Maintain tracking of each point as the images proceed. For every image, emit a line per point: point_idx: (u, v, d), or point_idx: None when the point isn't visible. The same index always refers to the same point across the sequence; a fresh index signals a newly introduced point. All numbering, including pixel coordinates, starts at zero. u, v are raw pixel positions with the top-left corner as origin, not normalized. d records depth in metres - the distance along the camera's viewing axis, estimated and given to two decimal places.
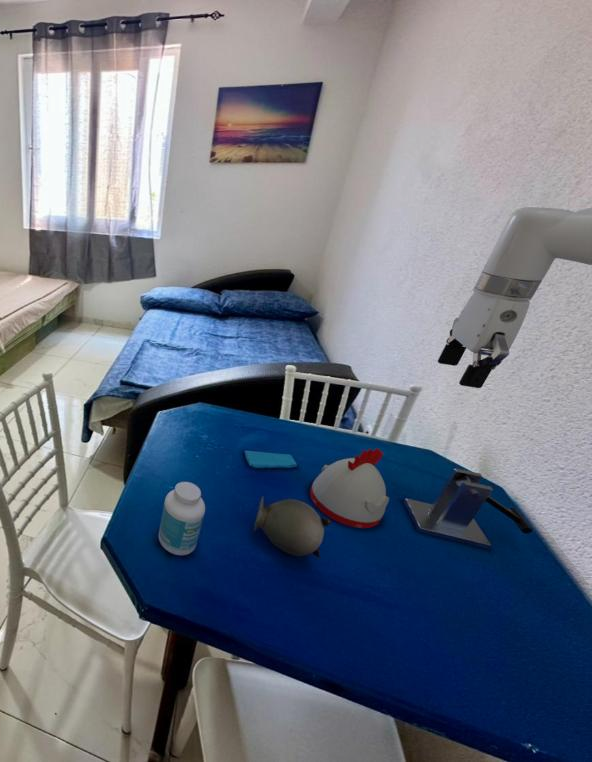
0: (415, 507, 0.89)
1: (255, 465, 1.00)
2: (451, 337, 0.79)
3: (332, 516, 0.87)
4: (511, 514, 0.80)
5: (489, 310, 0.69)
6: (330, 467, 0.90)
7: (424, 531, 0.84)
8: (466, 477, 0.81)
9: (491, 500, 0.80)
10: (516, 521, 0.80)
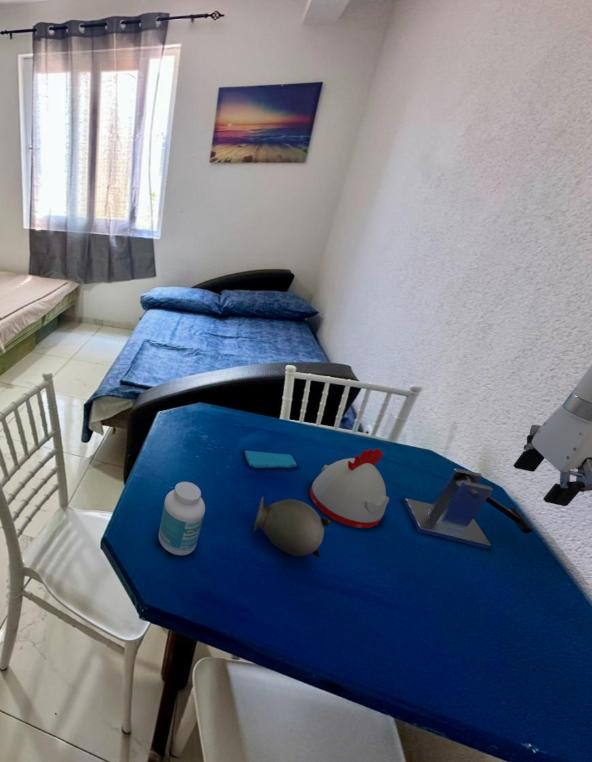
0: (415, 507, 0.89)
1: (255, 465, 1.00)
2: (530, 445, 0.79)
3: (332, 516, 0.87)
4: (511, 514, 0.80)
5: (581, 435, 0.68)
6: (330, 467, 0.90)
7: (424, 531, 0.84)
8: (466, 477, 0.81)
9: (491, 500, 0.80)
10: (516, 521, 0.80)
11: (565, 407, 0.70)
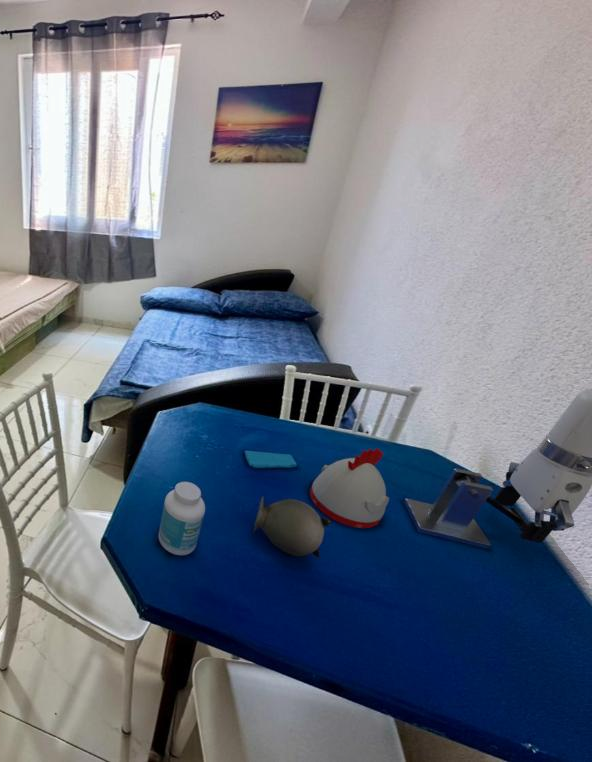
0: (415, 507, 0.89)
1: (255, 465, 1.00)
2: (508, 482, 0.83)
3: (332, 516, 0.87)
4: (511, 514, 0.80)
5: (554, 478, 0.72)
6: (330, 467, 0.90)
7: (424, 531, 0.84)
8: (466, 477, 0.81)
9: (491, 500, 0.80)
10: (516, 521, 0.80)
11: (540, 450, 0.74)
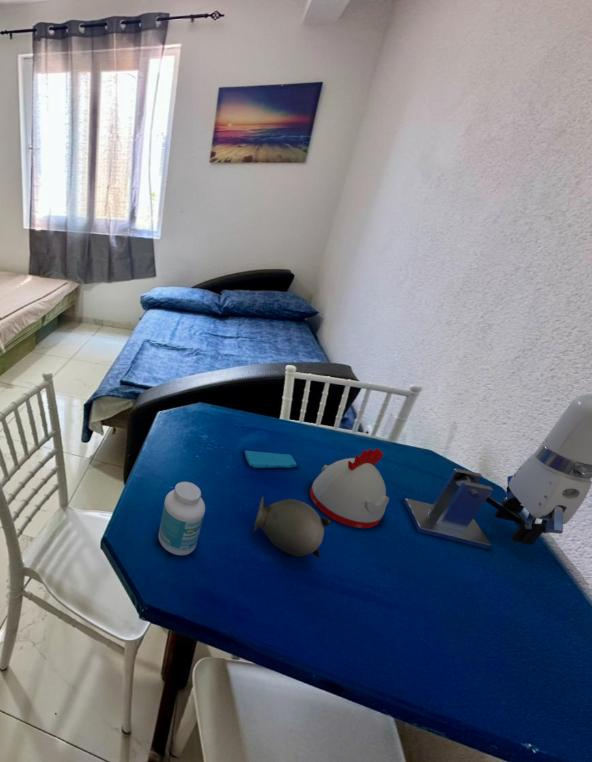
0: (415, 507, 0.89)
1: (255, 465, 1.00)
2: (509, 496, 0.83)
3: (332, 516, 0.87)
4: (511, 514, 0.80)
5: (551, 484, 0.73)
6: (330, 467, 0.90)
7: (424, 531, 0.84)
8: (466, 477, 0.81)
9: (491, 500, 0.80)
10: (516, 521, 0.80)
11: (537, 456, 0.75)
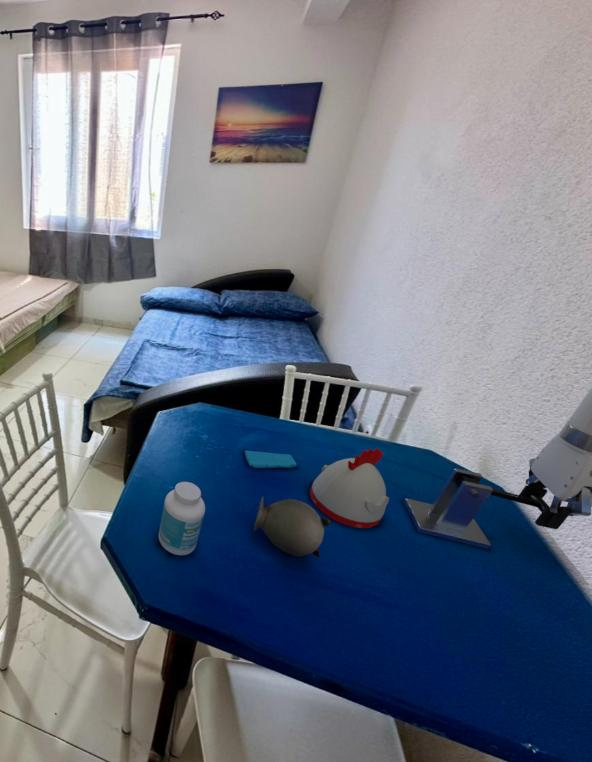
0: (415, 507, 0.89)
1: (255, 465, 1.00)
2: (532, 480, 0.80)
3: (332, 516, 0.87)
4: (528, 501, 0.78)
5: (577, 464, 0.70)
6: (330, 467, 0.90)
7: (424, 531, 0.84)
8: (462, 478, 0.81)
9: (499, 493, 0.79)
10: (538, 507, 0.78)
11: (561, 436, 0.72)
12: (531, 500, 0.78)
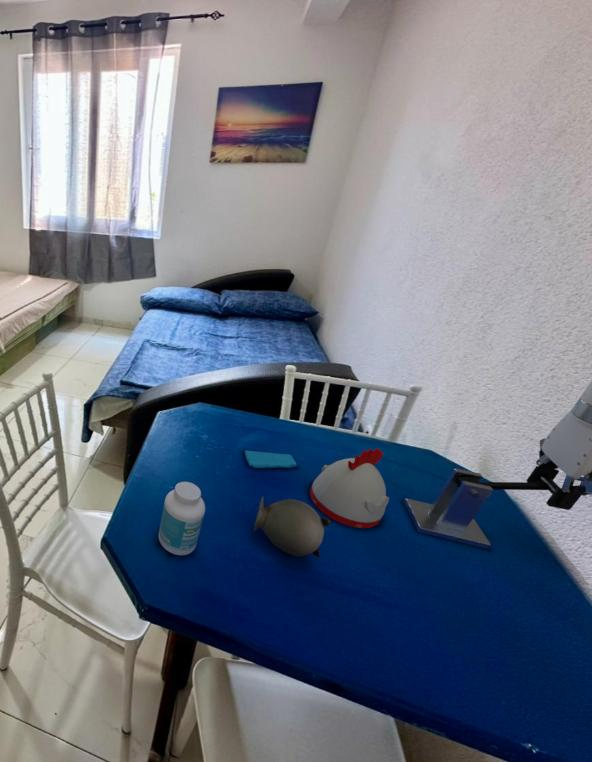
0: (415, 507, 0.89)
1: (255, 465, 1.00)
2: (542, 460, 0.78)
3: (332, 516, 0.87)
4: (535, 487, 0.77)
5: (591, 441, 0.68)
6: (330, 467, 0.90)
7: (424, 531, 0.84)
8: (459, 480, 0.82)
9: (502, 486, 0.79)
10: (548, 489, 0.76)
11: (574, 413, 0.70)
12: (538, 484, 0.77)
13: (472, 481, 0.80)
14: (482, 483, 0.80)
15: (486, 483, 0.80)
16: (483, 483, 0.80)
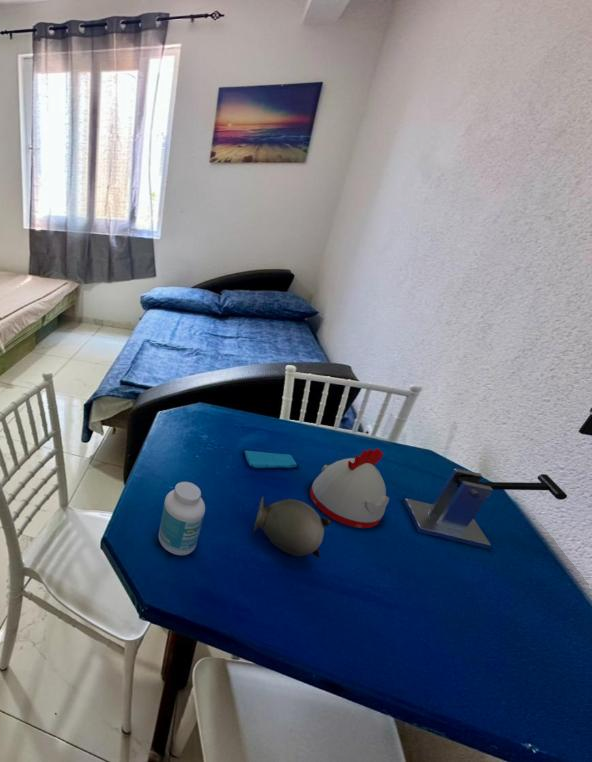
0: (415, 507, 0.89)
1: (255, 465, 1.00)
2: None
3: (332, 516, 0.87)
4: (535, 487, 0.77)
5: None
6: (330, 467, 0.90)
7: (424, 531, 0.84)
8: (459, 480, 0.82)
9: (502, 486, 0.79)
10: None
11: None
12: (538, 485, 0.77)
13: (472, 481, 0.80)
14: (482, 483, 0.80)
15: (486, 483, 0.80)
16: (483, 483, 0.80)
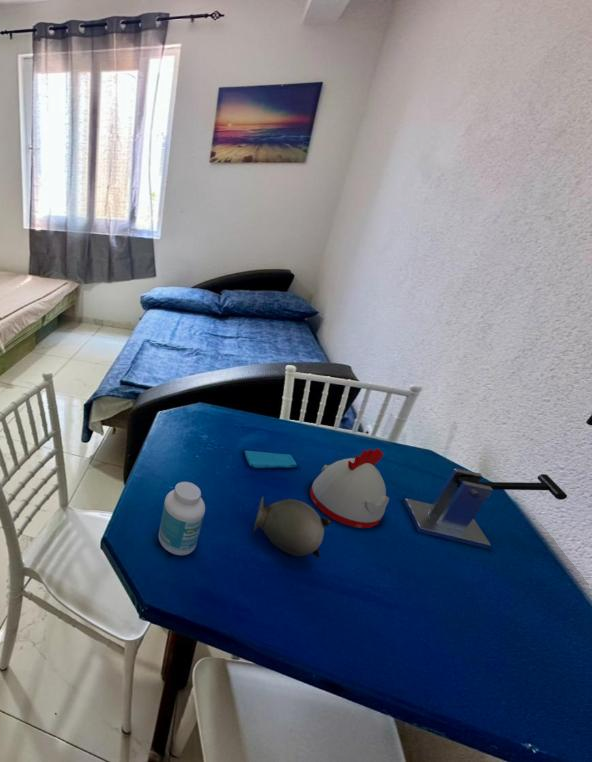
0: (415, 507, 0.89)
1: (255, 465, 1.00)
2: None
3: (332, 516, 0.87)
4: (535, 487, 0.77)
5: None
6: (330, 467, 0.90)
7: (424, 531, 0.84)
8: (459, 480, 0.82)
9: (502, 486, 0.79)
10: None
11: None
12: (538, 485, 0.77)
13: (472, 481, 0.80)
14: (482, 483, 0.80)
15: (486, 483, 0.80)
16: (483, 483, 0.80)
